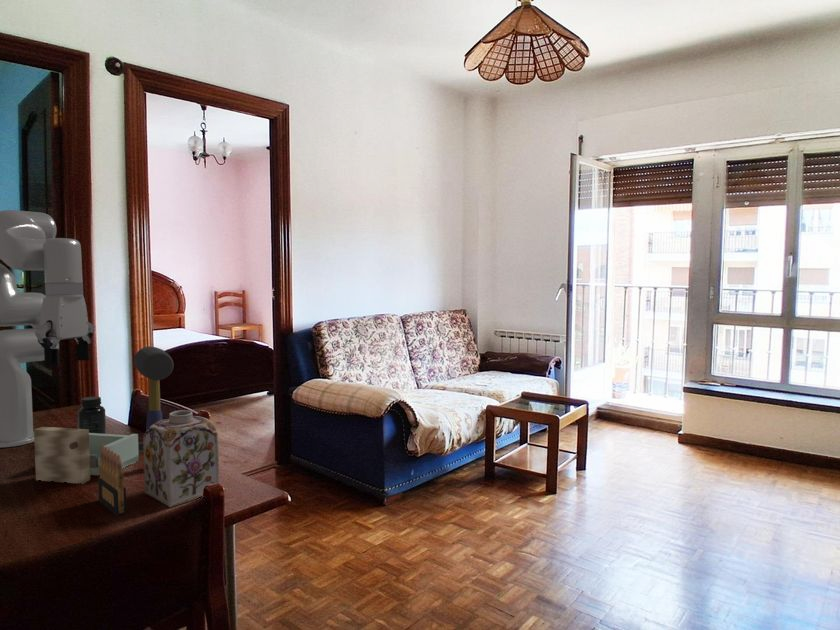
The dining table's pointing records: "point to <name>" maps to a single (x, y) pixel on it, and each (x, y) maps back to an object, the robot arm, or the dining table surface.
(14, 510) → the dining table surface
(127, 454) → the cabinet
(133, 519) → the dining table surface
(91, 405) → the supplement bottle
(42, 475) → the wooden block
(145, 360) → the rubber mallet
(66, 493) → the dining table surface
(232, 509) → the dining table surface
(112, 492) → the ammunition clip
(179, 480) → the decorative jar
